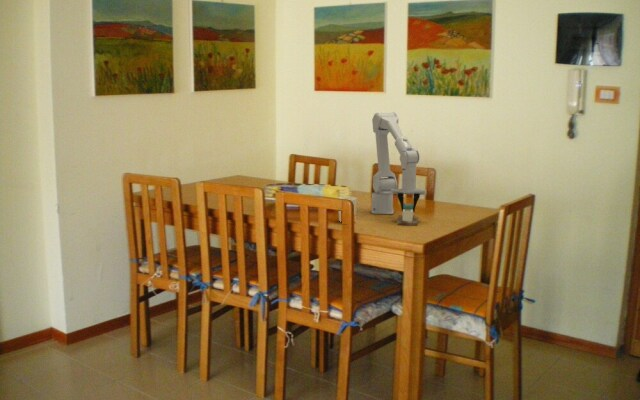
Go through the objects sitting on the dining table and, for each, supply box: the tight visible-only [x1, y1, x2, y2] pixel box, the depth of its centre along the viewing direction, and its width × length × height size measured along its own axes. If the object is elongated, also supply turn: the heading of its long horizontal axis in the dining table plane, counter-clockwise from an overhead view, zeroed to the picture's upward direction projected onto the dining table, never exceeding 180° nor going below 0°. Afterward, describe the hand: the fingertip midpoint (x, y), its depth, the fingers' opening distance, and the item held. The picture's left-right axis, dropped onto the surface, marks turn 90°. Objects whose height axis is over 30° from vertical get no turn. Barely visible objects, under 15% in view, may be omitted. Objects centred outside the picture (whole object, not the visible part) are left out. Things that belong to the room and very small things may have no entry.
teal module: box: [403, 202, 414, 209], centre depth 287 cm, size 4×4×5 cm
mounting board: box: [396, 214, 419, 227], centre depth 288 cm, size 8×16×2 cm, turn 171°
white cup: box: [337, 196, 358, 223], centre depth 286 cm, size 8×8×10 cm
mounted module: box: [402, 209, 414, 221], centre depth 282 cm, size 4×4×4 cm
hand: (408, 211), depth 287 cm, fingers closed on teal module, 4 cm apart
